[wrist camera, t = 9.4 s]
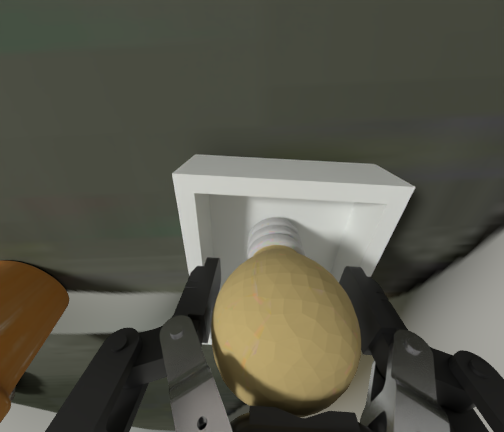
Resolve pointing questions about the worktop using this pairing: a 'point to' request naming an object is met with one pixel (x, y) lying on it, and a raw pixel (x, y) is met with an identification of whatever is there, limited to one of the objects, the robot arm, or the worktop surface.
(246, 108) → the worktop surface
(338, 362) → the amber frosted bulb
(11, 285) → the flower pot
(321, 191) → the tray
